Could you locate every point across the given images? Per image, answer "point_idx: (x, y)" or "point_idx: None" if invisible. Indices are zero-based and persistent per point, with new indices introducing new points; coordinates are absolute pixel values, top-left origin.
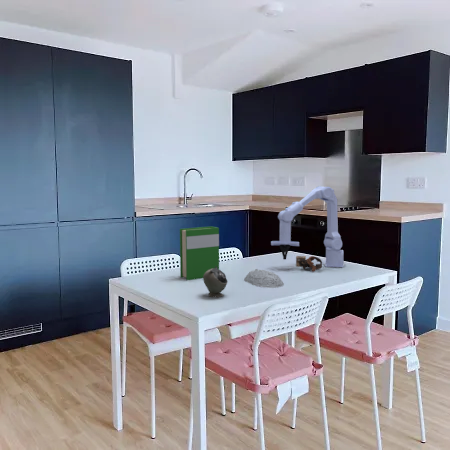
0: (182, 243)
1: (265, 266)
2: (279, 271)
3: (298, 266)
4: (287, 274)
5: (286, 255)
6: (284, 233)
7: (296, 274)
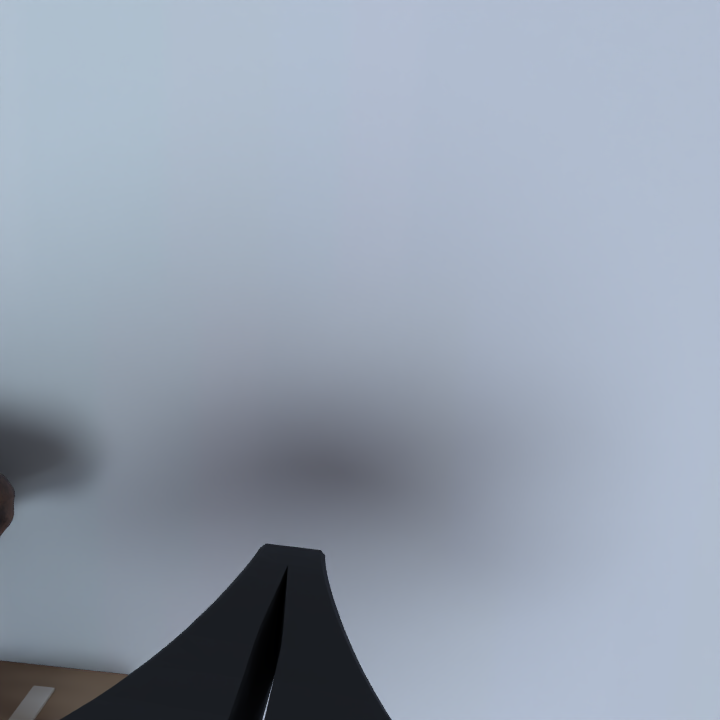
0: None
1: (592, 658)
2: (406, 321)
3: (92, 671)
4: (280, 79)
5: (223, 593)
6: None
7: (118, 86)
